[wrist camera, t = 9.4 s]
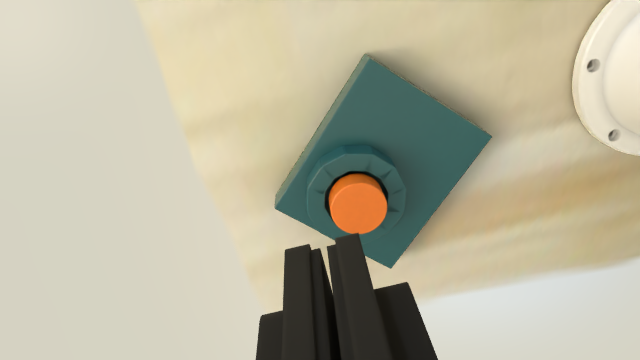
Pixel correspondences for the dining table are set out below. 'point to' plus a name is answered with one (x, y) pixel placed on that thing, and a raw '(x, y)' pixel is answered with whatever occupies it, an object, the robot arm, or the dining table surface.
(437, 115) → the button base
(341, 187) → the orange button cap
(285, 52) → the dining table surface
